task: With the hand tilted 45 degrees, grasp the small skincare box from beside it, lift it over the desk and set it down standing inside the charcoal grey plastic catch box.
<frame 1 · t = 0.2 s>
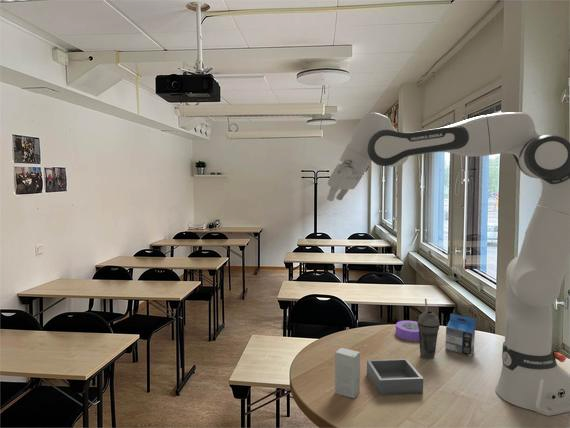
hand: (334, 199, 131), 54 cm above the table, tool tilted 30°, fingers open, 8 cm apart
masking tape: (411, 335, 158), on the table
beverage cup: (427, 356, 139), on the table
skincare box: (347, 393, 115), on the table
label tape cartridge: (459, 351, 143), on the table
catch box: (393, 383, 120), on the table
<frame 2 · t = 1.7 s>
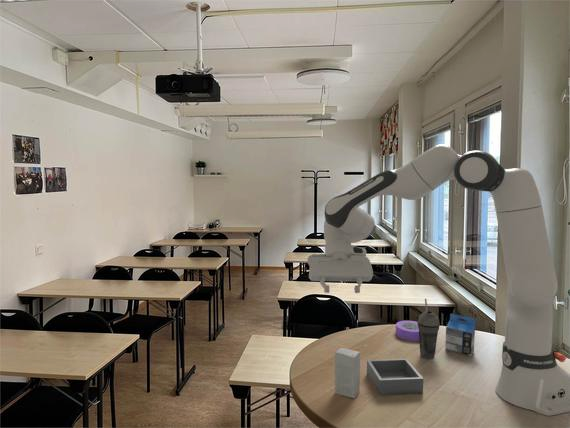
hand: (342, 292, 125), 26 cm above the table, tool tilted 45°, fingers open, 8 cm apart
nothing on the table moved.
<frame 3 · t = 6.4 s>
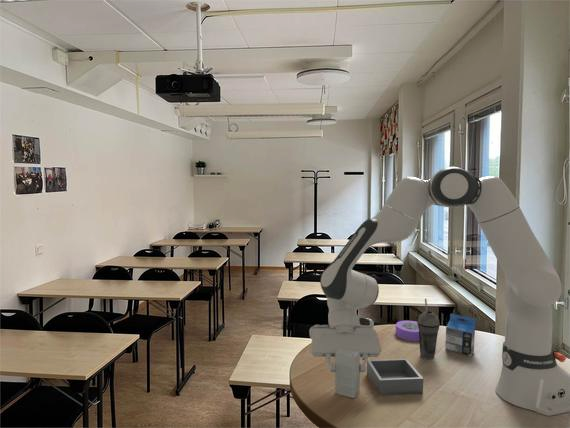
hand: (347, 371, 114), 7 cm above the table, tool tilted 45°, fingers closed on skincare box, 7 cm apart
skincare box: (347, 393, 115), on the table, touching gripper
everything else where it was.
when the fingers open (9 cm above the table, at t = 12.4 s): skincare box drops 1 cm, resting on catch box.
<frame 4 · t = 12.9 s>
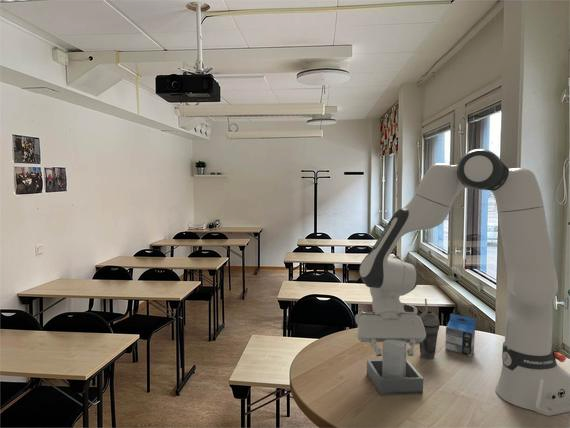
hand: (394, 355, 119), 9 cm above the table, tool tilted 45°, fingers open, 8 cm apart
skincare box: (393, 381, 120), point 1 cm above the table, touching catch box
everything else where it was.
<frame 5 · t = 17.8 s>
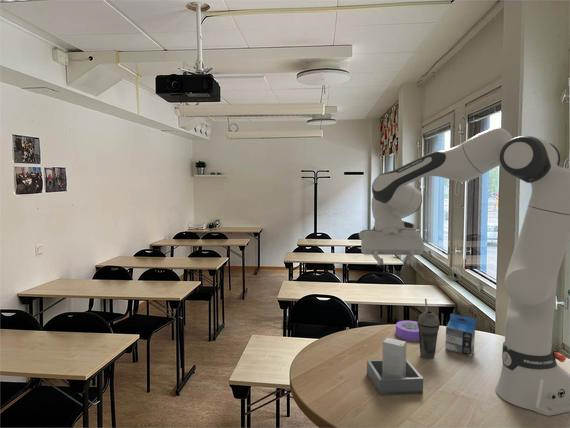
hand: (395, 264, 129), 33 cm above the table, tool tilted 45°, fingers open, 8 cm apart
nothing on the table moved.
at the end: skincare box inside the target area on the catch box (0.0 cm from its centre), point 0.6 cm above the catch box's base; skincare box tilted 0°; the gripper is holding nothing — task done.
